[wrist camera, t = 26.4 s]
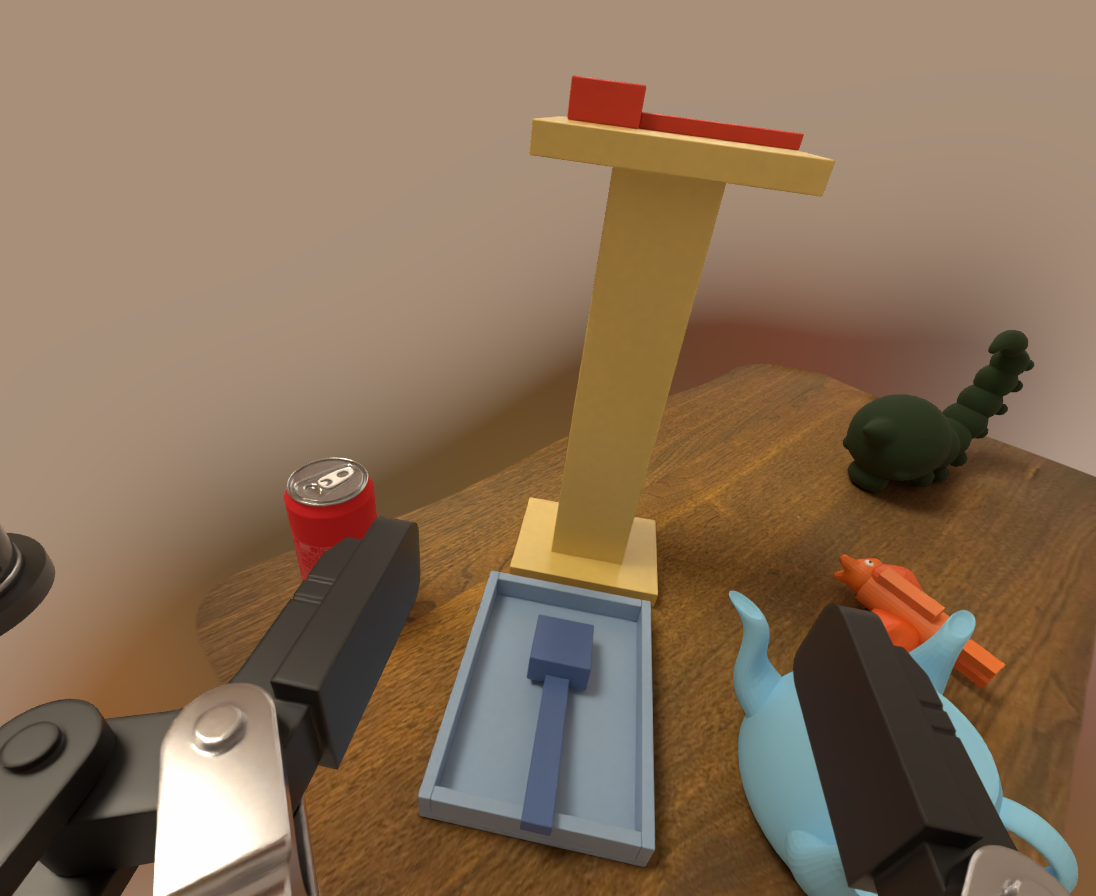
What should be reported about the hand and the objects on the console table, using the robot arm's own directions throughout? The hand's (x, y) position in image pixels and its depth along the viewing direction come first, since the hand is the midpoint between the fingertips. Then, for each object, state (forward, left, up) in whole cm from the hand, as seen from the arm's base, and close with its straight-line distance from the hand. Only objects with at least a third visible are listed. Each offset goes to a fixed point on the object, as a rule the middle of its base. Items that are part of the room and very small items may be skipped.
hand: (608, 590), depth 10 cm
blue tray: (0, +12, -25) cm, 28 cm away
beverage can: (-16, +16, -25) cm, 34 cm away
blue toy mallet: (0, +11, -23) cm, 26 cm away
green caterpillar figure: (+37, +49, -25) cm, 66 cm away
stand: (+1, +26, -25) cm, 36 cm away
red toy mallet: (+1, +29, +7) cm, 29 cm away
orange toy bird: (+26, +23, -25) cm, 43 cm away
